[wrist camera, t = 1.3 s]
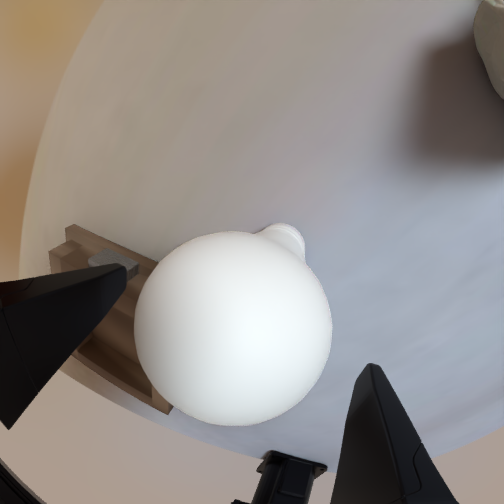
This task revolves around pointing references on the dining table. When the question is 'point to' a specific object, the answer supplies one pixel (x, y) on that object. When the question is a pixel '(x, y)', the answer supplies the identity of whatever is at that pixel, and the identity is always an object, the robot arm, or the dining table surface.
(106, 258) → the bulb holder
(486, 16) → the ceramic sculpture
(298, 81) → the dining table surface
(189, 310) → the lightbulb
